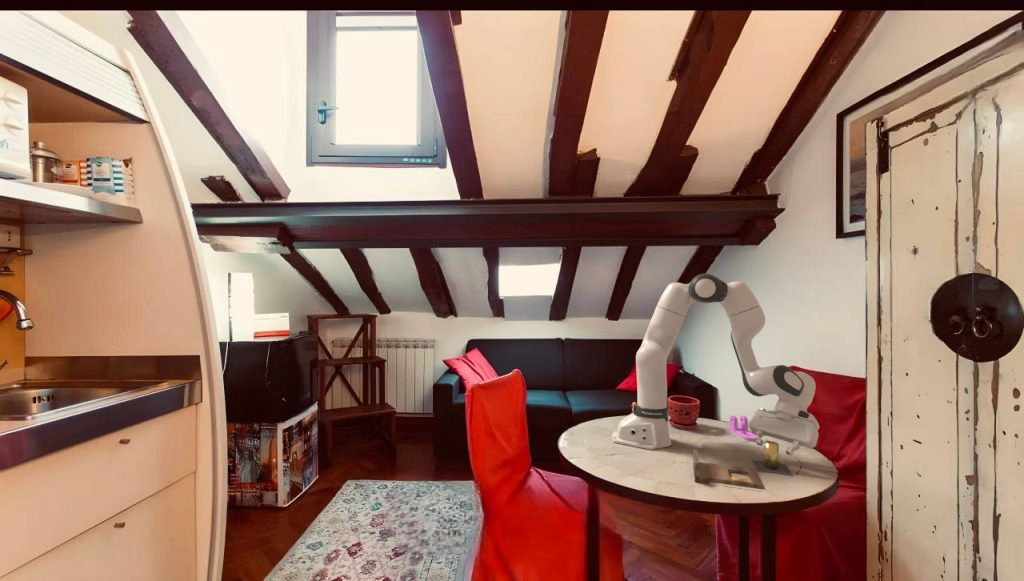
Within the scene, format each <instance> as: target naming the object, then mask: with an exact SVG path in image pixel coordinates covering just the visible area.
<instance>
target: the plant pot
mask: <svg viewBox="0 0 1024 581" xmlns="http://www.w3.org/2000/svg"><path fill="white" fill-rule="evenodd" d="M667 406H668V410H669V419H668V424H669V425H671V427H674V428H676V429H682V430H693V429H696V427H697V426H698V423H697V420H698V418H699V416H700V412H701V411H700V408H701V401H700V400H699V399H698V398H695V397H690V396H685V395H671V396H669V397H668V396H667Z"/></svg>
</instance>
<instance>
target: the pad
mask: <svg viewBox="0 0 1024 581" xmlns="http://www.w3.org/2000/svg"><path fill="white" fill-rule="evenodd" d="M751 462H752V463H753V465H754V466H753V467H754V469H755V471H757V472H758V473H765V474H766V473H767V474H773V475H774V474H775V475H782V476H789V477H794V475H793V474H792V471H791V470H790V469H789V468H790V467H788V465H787V464H786V463H783V462H779V469H778V470H771V469H768V468H766V467H765V466H764V460H758V459H751Z"/></svg>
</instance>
